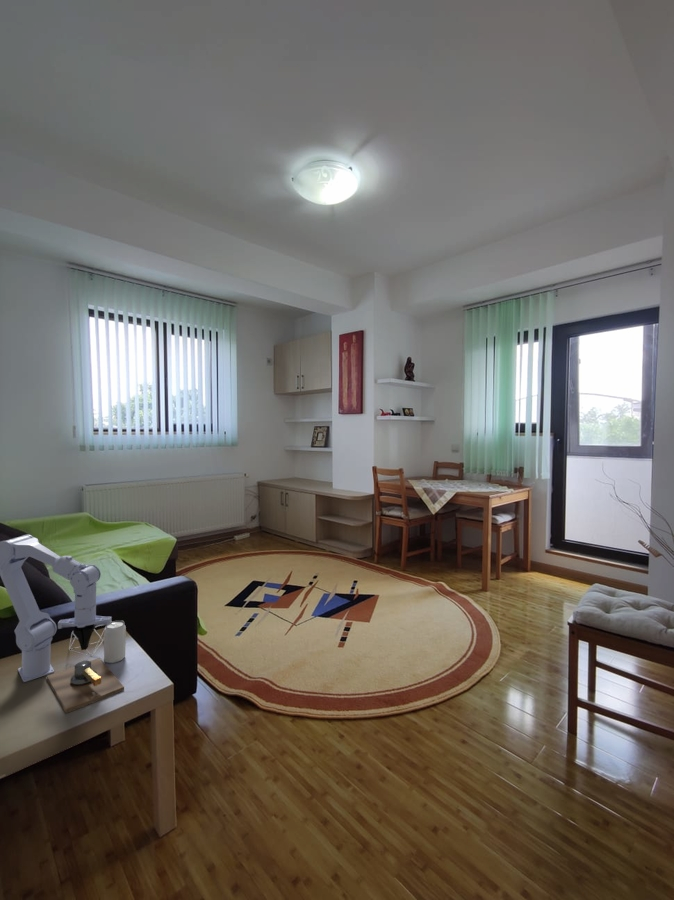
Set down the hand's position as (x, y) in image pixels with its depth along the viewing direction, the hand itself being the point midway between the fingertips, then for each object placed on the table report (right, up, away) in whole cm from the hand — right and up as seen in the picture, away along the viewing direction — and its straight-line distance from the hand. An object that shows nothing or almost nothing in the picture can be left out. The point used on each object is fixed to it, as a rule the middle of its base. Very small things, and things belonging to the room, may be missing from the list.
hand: (84, 648), depth 129 cm
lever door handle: (+4, -8, -4) cm, 10 cm away
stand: (+2, -10, -3) cm, 10 cm away
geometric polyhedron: (-9, -9, +17) cm, 21 cm away
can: (+3, -9, +11) cm, 15 cm away
